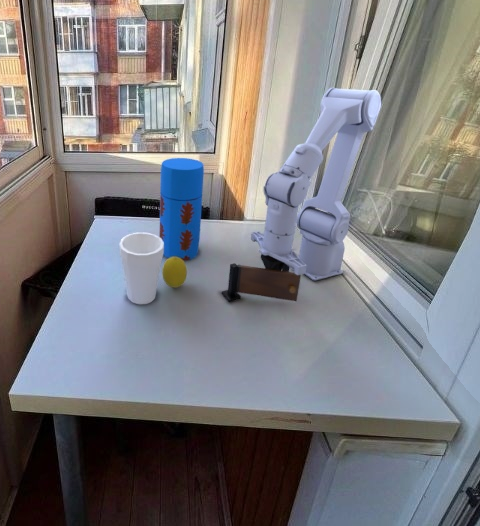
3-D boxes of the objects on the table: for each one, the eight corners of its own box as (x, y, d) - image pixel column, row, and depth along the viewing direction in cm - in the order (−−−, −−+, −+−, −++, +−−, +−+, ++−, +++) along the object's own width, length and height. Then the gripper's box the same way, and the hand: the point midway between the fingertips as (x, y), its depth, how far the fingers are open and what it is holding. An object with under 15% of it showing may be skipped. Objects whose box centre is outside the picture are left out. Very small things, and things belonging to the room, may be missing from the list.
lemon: (185, 296, 73) (186, 265, 71) (160, 293, 74) (161, 262, 72) (186, 281, 79) (188, 251, 76) (163, 278, 80) (164, 249, 77)
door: (295, 298, 71) (300, 272, 69) (297, 304, 69) (302, 278, 67) (234, 289, 74) (237, 264, 72) (234, 294, 72) (237, 269, 70)
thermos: (166, 263, 85) (169, 171, 78) (154, 242, 95) (155, 159, 88) (205, 258, 88) (211, 168, 80) (189, 238, 98) (194, 156, 90)
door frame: (284, 277, 80) (288, 248, 77) (293, 285, 77) (298, 255, 75) (221, 293, 74) (224, 262, 72) (229, 302, 72) (232, 270, 69)
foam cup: (168, 288, 76) (170, 237, 72) (153, 314, 68) (154, 259, 64) (131, 277, 80) (130, 229, 76) (112, 301, 72) (111, 248, 68)
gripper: (242, 217, 75) (236, 268, 79) (289, 249, 62) (280, 309, 66) (268, 212, 77) (261, 263, 81) (319, 243, 64) (308, 302, 68)
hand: (271, 283), depth 74 cm, fingers closed
